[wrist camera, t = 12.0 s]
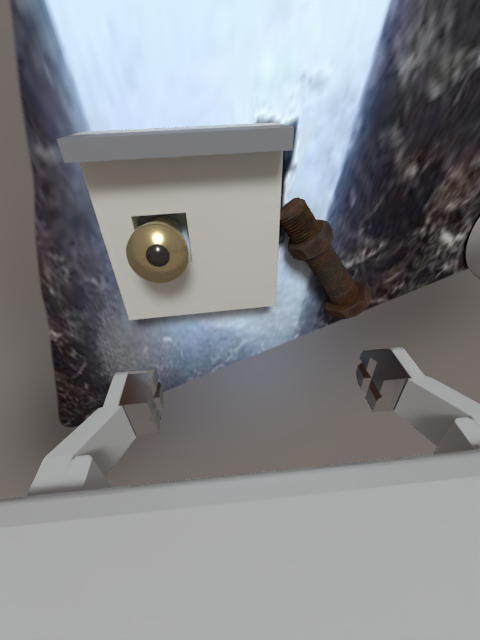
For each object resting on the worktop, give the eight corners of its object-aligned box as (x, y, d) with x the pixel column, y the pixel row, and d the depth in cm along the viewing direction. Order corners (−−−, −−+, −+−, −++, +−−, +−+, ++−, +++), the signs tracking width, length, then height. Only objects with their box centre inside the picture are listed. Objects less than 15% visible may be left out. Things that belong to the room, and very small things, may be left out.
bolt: (285, 193, 33) (343, 285, 40) (257, 225, 32) (322, 313, 39) (324, 184, 28) (382, 291, 35) (291, 222, 27) (357, 323, 35)
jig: (276, 122, 27) (294, 127, 22) (270, 292, 38) (281, 320, 33) (82, 132, 26) (56, 139, 21) (133, 305, 36) (124, 336, 32)
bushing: (182, 202, 30) (181, 220, 24) (192, 251, 33) (193, 278, 27) (131, 209, 30) (117, 230, 24) (145, 258, 33) (136, 287, 27)
